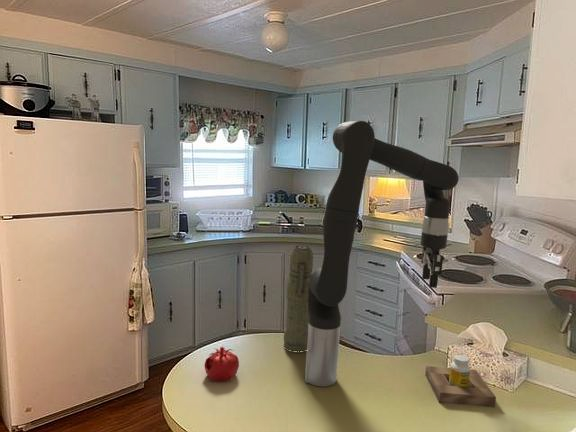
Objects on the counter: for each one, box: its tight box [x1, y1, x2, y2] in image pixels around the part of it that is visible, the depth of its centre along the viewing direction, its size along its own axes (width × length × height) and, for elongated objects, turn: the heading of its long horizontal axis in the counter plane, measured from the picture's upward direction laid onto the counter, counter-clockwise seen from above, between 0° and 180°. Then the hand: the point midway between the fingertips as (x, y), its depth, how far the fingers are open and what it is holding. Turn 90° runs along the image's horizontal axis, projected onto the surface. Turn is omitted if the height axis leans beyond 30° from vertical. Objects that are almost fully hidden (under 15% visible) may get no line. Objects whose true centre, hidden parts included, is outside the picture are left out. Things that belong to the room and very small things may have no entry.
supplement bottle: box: [449, 354, 471, 387], centre depth 126 cm, size 5×5×10 cm
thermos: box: [283, 245, 314, 352], centre depth 146 cm, size 9×12×35 cm
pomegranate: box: [204, 346, 240, 383], centre depth 127 cm, size 10×10×9 cm
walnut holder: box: [425, 365, 497, 408], centre depth 127 cm, size 15×15×3 cm
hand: (429, 283), depth 135 cm, fingers open, 8 cm apart
